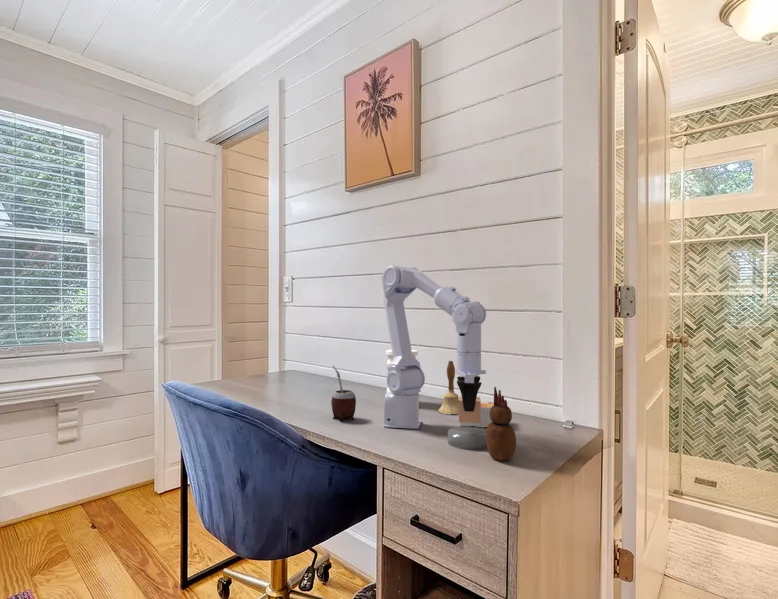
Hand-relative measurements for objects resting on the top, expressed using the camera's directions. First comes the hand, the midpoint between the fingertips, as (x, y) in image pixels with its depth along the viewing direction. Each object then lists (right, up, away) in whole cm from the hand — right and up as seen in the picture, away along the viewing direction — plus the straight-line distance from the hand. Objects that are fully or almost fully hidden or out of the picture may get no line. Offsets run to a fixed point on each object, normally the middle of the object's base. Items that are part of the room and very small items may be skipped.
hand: (468, 408), depth 103 cm
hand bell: (0, -9, +31) cm, 33 cm away
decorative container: (-15, -9, +43) cm, 46 cm away
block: (0, -3, 0) cm, 3 cm away
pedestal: (0, -8, 0) cm, 8 cm away
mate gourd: (-33, -9, +22) cm, 40 cm away
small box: (+12, -6, +16) cm, 21 cm away
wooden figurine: (+5, -8, -11) cm, 14 cm away
